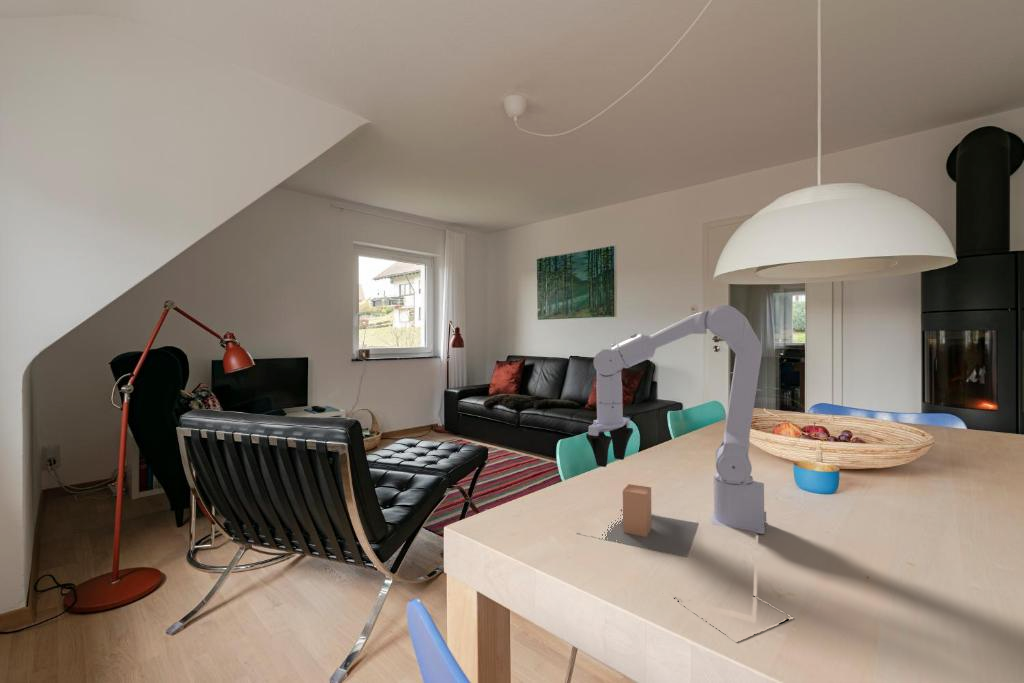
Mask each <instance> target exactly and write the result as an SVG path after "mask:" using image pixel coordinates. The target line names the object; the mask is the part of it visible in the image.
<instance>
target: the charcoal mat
mask: <svg viewBox="0 0 1024 683" xmlns="http://www.w3.org/2000/svg"><path fill="white" fill-rule="evenodd" d="M622 515H623V514H622ZM620 516H621V515H620ZM651 518H652V528H651V530H650V532H649V534H648V535H647V537H645V536H640V535H635V534H630V533H624V532H623V519H622V521H621V520H620V521H619V522H618V521H617V522H618V524H617V522H616V523H615V524H614V523H613V524H614V527H613V526H612V525H613V524H612V525H611V527H610V528H611V529H612V530H611V529H610V531H611V532H610V531H609V530H608V529H607V531H608V532H607V536H606V534H605V536H606V537H605V540H604V541H607V540H608V542H612V541H613V543H616V542H617V544H621V543H622V545H627V546H631V547H636V548H640V549H646V550H650V551H656V552H659V553H660V552H661V553H665V554H670V555H673V556H674V555H675V556H677V557H678V556H679V557H683V558H688V556H689V552H690V550H691V547H692V545H693V541H694V539H695V536H696V533H697V529H698V526H699V522H694V521H687V520H683V519H679V518H677V519H676V518H671V517H665V516H661V515H660V516H659V515H654V514H651ZM618 519H619V518H618ZM620 519H621V518H620ZM615 521H616V520H615ZM620 522H621V523H620ZM611 523H612V522H611ZM619 523H620V524H619ZM616 524H617V525H616ZM608 526H609V525H608ZM612 527H613V528H612ZM608 528H609V527H608ZM604 533H605V532H604ZM602 536H603V534H602ZM607 538H608V539H607ZM602 539H603V538H602ZM602 539H600V538H599V539H598V540H602ZM616 540H617V541H616Z"/></svg>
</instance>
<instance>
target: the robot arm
mask: <svg viewBox="0 0 1024 683" xmlns="http://www.w3.org/2000/svg"><path fill="white" fill-rule="evenodd" d="M707 330H708V331H709V332H710V333H711V334H713V335H714V336H716V337H717V338H718V339H721V340H722V341H724V342H725V343H726V345H727V346H728V347H729V348H730V349H731V350H732V351H733V353H735V357H734V358H735V359H734V366H733V372H732V380H731V384H730V385H731V386H730V393H729V399H728V400H729V401H728V406H727V413H726V420H725V426H724V433H723V437H722V441H721V443H720V445H719V446H718V447H717V448H716V451H715V459H716V462H715V469H716V472H714V473H713V511H712V512H713V513H712V516H711V519H710V523H709V524H712V525H718V526H723V527H729V528H735V529H739V530H747V531H752V532H755V534H758V535H759V534H760V535H765V522H767V511H765V483H764V482H760V481H757V480H754V477H753V476H752V475H751V473H752V471H753V469H752V463H751V460H750V457H749V453H750V452H749V451H750V436H751V435H750V434H751V429H752V428H751V427H752V423H753V415H754V409H755V401H756V394H757V388H758V383H759V376H760V367H761V361H762V354H763V345H762V344H761V342H760V340H759V338H758V336H757V335H756V333H755V331H754V329H753V328H752V326H751V324H750V322H749V320H748V318H747V316H745V315H744V314H743V313H742V312H740V311H739V310H738V309H737V308H735V307H734V306H731V305H727V304H723V305H718V306H715V307H714V308H713V309H712V310H711V311H710V310H709V309H707V310H704V311H701V312H697V313H695V314H692V315H689V316H687V317H685V318H684V319H681V320H680V321H677V322H674V323H673V324H671V325H669V326H666V327H665V328H662V329H661V330H659V331H657V332H655V333H653V334H651V335H648V334H645V333H638V334H637V333H636V332H635V333H632V334H630V335H629V337H630V338H628V339H626V340H624V341H622V342H620V343H617V344H616V343H613V344H611V345H610V348H611V349H609V348H603V349H602V350H600V351H599V352H598V353H597V354H596V355H595V356H594V358H593V368H594V370H595V371H596V383H595V384H596V385H595V386H596V419H594V420H593V423H592V424H590V425H589V426H588V432H587V433H585V437H586V438H585V439H586V440H587V441H588V443H589V445H590V447H591V449H592V452H593V456H594V459H595V464H596V466H597V467H601V468H603V467H604V468H606V467H607V465H608V460H609V448H610V444H611V442H612V451H613V458H614V459H616V460H621V461H622V460H623V461H624V460H625V456H626V451H627V448H628V444H629V441H630V438H631V436H632V434H633V432H634V429H633V427H630V422H631V421H630V418H631V417H624V415H623V414H624V413H623V411H624V410H623V382H622V370H623V369H629V368H631V367H632V366H635V365H637V364H639V363H640V364H641V363H643V362H645V361H647V360H648V359H650V358H653V357H654V355H655V352H656V350H657V349H658V348H661V347H663V346H665V345H668V344H670V343H672V342H675V341H678V340H680V339H683V338H685V337H687V336H689V335H694V334H695V335H707V334H708V333H707ZM606 432H609V435H606V434H605V433H606Z"/></svg>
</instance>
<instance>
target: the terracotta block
mask: <svg viewBox="0 0 1024 683" xmlns="http://www.w3.org/2000/svg"><path fill="white" fill-rule="evenodd" d="M622 510H623V532H624V533H630V534H635V535H640V536H645V537H647V535H648V534H649V532H650V530H651V528H652V518H651V515H652V487H650V486H644V485H638V484H631V483H629V484H627V485H626V486H625V487H624V488H623V490H622Z"/></svg>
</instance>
